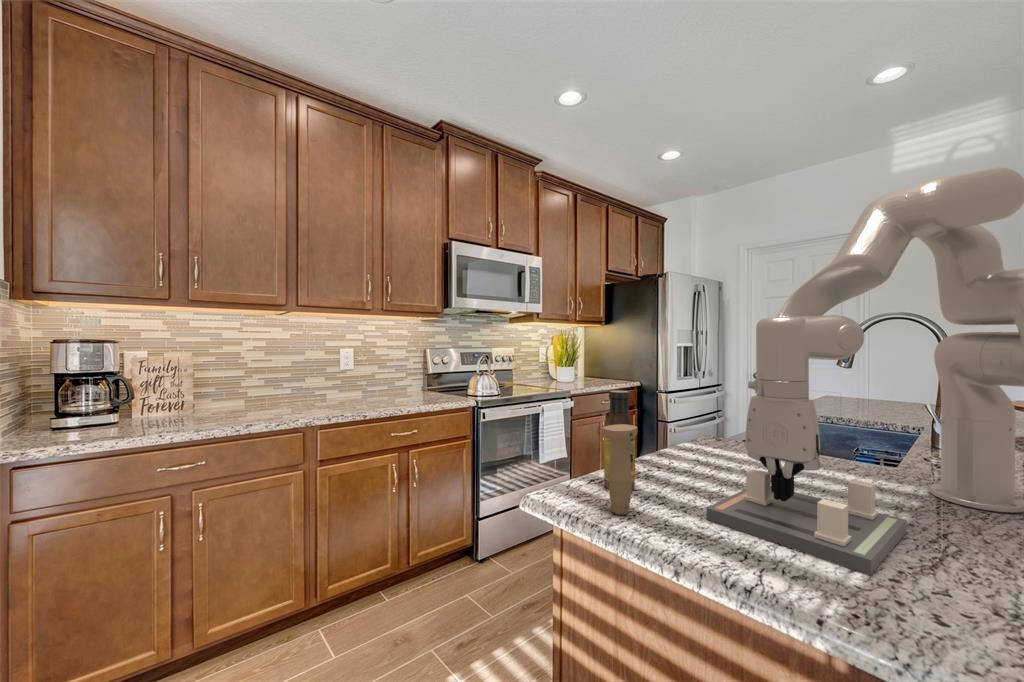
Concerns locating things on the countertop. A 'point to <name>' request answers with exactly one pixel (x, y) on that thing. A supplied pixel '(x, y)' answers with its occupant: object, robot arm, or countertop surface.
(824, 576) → the countertop surface
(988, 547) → the countertop surface
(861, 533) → the board
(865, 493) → the block
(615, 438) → the handle
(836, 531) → the block
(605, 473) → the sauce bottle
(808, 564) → the countertop surface
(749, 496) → the block
